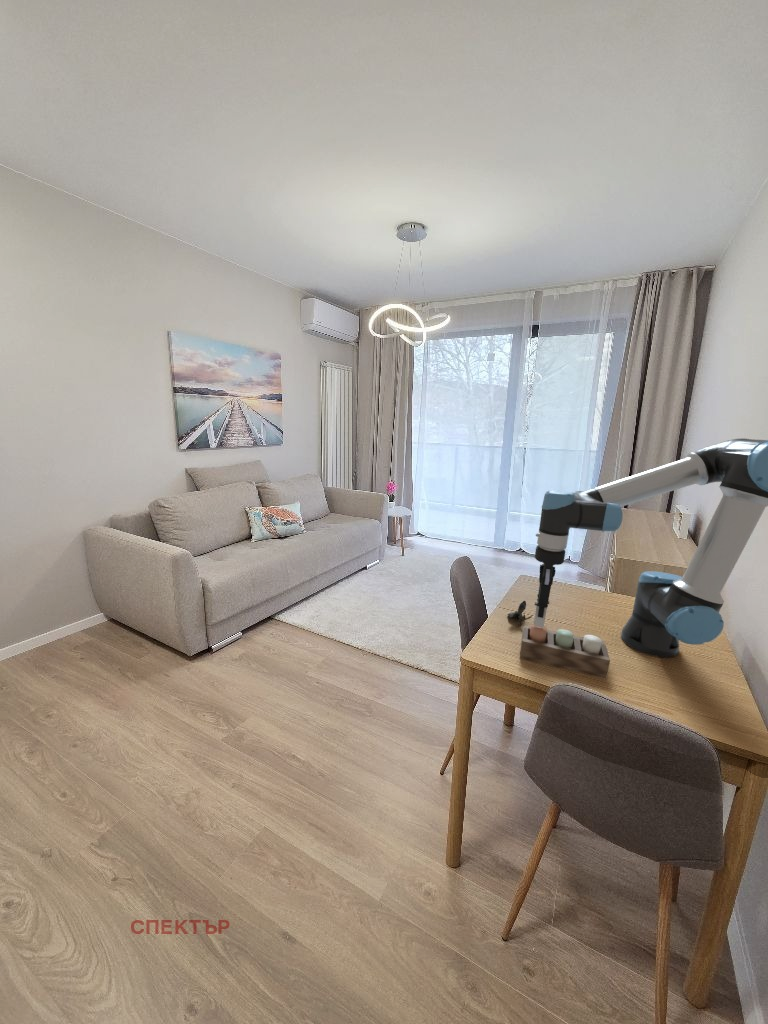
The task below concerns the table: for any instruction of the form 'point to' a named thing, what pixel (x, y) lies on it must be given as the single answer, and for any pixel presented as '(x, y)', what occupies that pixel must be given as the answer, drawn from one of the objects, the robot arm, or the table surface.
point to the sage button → (564, 638)
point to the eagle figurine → (520, 613)
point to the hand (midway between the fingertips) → (538, 625)
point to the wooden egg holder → (565, 654)
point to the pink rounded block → (537, 633)
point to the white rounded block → (591, 644)
